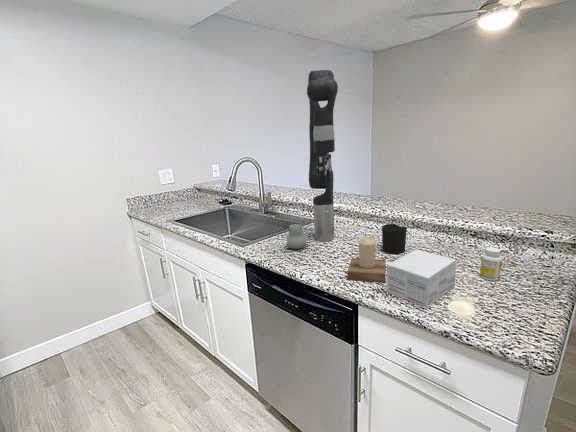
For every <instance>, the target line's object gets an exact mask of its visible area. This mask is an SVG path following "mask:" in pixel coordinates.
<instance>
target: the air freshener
mask: <svg viewBox="0 0 576 432" xmlns="http://www.w3.org/2000/svg"><path fill="white" fill-rule="evenodd" d="M288 231H289V232H288V233H289V234H288V235H287V236H286V246H287V248H289V249H292V250H300V249H304V248H306V247H307V236H306V234H304V231H303V225H302V224H298V223H294V224H291V225H289V226H288Z"/></svg>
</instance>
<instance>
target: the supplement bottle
mask: <svg viewBox="0 0 576 432" xmlns="http://www.w3.org/2000/svg"><path fill="white" fill-rule="evenodd" d="M484 250H485V251H484V254H482V256H481V262H480V263H481V264H480V272H479V273H480V274H479V275H480V277H481V279H483V280H487V281H492V282H493V281H496V282H497V281H498V280H500V277H501V270H502V264H503V257H502V256H501V249H500V248H498V247H494V246H493V247H492V246H491V247H489V246H488V247H485V249H484Z"/></svg>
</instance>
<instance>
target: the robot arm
mask: <svg viewBox="0 0 576 432" xmlns="http://www.w3.org/2000/svg"><path fill="white" fill-rule="evenodd" d="M307 79H308V80H307V81H308V84H307V87H306V95H307V97H308V99H309V100H308V102H309V124H308V125H309V129H308V131H309V132H308V133H309V165H308V167H309V168H308V184H309V187H310V188H311V189H312V190H324V192H323V193H322V194H319V195H316V196H314V197H313V199H312V201H313V203H312V204H313V205H312V206H313V224H314V239H316V240H315V241H317V240H318V242H330V241H329V240H331V241H333V240H335V214H334V213H335V212H334V180H335V179H334V176H335V175H334V171H333V169H332V168H333V167H332V154H331V153H334V152H335V151H336V150H335V149H336V148H335V147H336V146H335V142H336V141H335V129H334V111H335V110H334V109H335V105H336V104H335V103H336V98H337V95H338V90H339V89H338V88H339V87H338V83H337V81H336V80H335V75H334V72H333V71H332V70H330V69H322V70H321V69H320V70H311V71H309V74H308V77H307ZM320 102H327V103H326V105H325V106H323V107H321V105H320V104H319V103H320Z"/></svg>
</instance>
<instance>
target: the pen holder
mask: <svg viewBox="0 0 576 432" xmlns="http://www.w3.org/2000/svg"><path fill="white" fill-rule="evenodd" d="M407 231H408V229H407V226H399V225H397V224H394V223H387V224H384V225H382V227H381V233H382V234H381V236H382V237H381V239H382V240H381V241H382V242H381V245H382V250H383V252H384V253H387V254H390V255H391V254H392V255H400V254H403V253H404V252H405V251H406V241H407V239H406V238H407Z"/></svg>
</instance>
